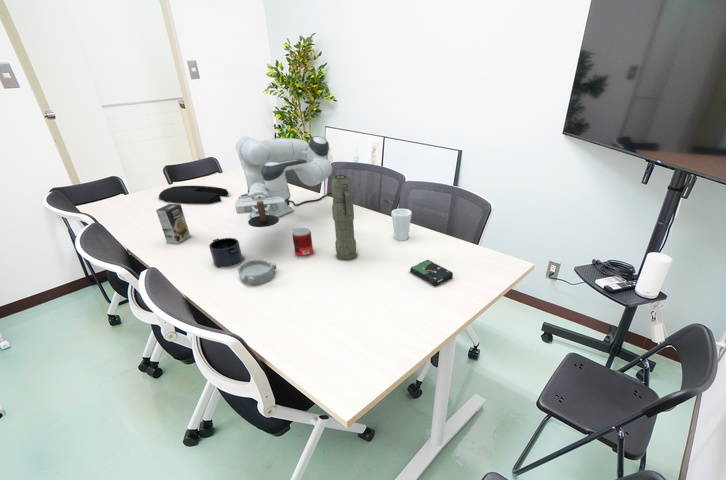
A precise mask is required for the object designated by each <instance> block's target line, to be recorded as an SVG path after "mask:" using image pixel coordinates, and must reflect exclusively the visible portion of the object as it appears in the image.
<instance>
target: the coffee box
mask: <svg viewBox="0 0 726 480" xmlns="http://www.w3.org/2000/svg"><path fill="white" fill-rule="evenodd" d="M155 212H156V214H157V218H158V220H159V223H160V226H161V230H162V233H163V235H164V238H165V241H166V243H167V244H174V245H179V244H181V243H182V242H184V241H185V240H188V239H189V238H190V237H191V233H190V230H189V226H188V224H187V221H186V217H185V214H184V211H183V207H182V205H181V203H168V204H166V205H163V206H162V207H160V208H157V209H155Z"/></svg>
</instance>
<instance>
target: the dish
mask: <svg viewBox="0 0 726 480" xmlns="http://www.w3.org/2000/svg"><path fill="white" fill-rule="evenodd" d="M276 269H277V264H276V263H272V262H270V261H268V260H265V259H250V260H247V261H244V262H242V263H241V264H240V265H239V266H238V267H237V272H238V276H239V279H240V280H241V282H242V283H244V284H245V285H249V286H258V285H262V284H265V283H268V282H269V281H271V280H272V279H273V277H274V275H275V270H276Z"/></svg>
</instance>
